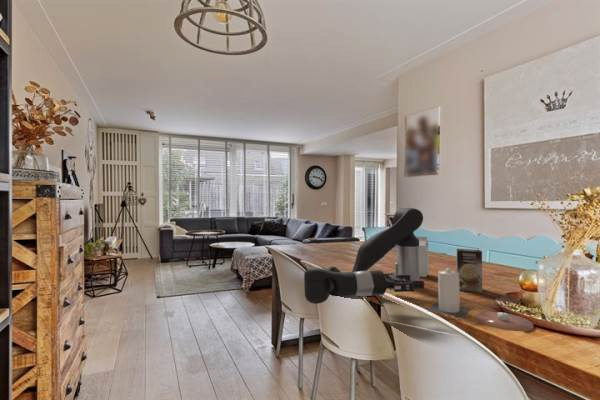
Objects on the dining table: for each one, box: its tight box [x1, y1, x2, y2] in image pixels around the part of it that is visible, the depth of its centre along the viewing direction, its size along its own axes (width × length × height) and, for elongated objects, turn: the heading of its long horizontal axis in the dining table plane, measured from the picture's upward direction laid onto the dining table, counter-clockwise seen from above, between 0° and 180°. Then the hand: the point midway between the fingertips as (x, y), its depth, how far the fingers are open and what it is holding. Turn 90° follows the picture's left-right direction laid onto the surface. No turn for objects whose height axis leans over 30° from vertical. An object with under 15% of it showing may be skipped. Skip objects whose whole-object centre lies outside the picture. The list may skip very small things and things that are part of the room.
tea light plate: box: [475, 311, 534, 333], centre depth 92 cm, size 14×14×3 cm
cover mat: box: [427, 302, 472, 319], centre depth 103 cm, size 11×11×1 cm
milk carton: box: [415, 235, 430, 278], centre depth 156 cm, size 7×7×19 cm
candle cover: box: [437, 267, 461, 313], centre depth 103 cm, size 6×6×13 cm
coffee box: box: [456, 248, 483, 293], centre depth 129 cm, size 9×6×16 cm
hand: (416, 281), depth 101 cm, fingers open, 8 cm apart
